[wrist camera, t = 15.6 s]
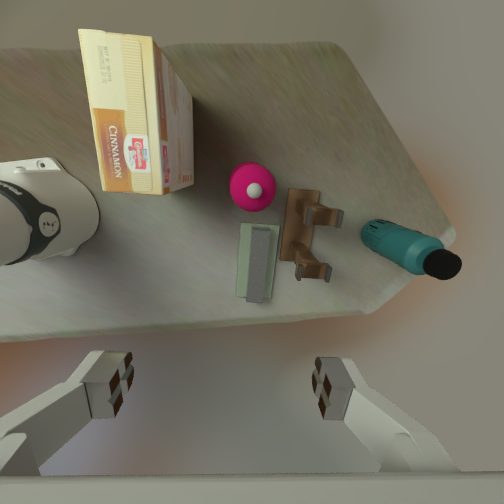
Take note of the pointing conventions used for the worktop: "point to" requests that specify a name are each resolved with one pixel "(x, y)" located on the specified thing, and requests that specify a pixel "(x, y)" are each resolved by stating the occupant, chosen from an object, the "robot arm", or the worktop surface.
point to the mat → (244, 258)
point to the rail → (257, 264)
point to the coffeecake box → (137, 114)
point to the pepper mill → (252, 186)
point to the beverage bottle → (411, 249)
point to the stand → (306, 232)
